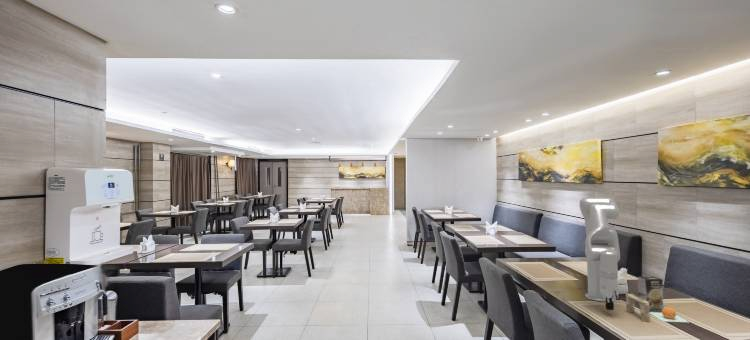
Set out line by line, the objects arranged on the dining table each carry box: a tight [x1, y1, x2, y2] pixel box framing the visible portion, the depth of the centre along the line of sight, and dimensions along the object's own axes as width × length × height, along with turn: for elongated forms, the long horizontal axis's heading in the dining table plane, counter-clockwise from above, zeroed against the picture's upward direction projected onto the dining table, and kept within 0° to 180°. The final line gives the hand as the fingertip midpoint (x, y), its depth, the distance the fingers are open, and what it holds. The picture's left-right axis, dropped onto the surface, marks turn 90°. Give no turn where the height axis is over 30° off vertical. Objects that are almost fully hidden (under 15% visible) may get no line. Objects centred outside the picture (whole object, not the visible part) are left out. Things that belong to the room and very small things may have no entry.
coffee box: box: [637, 276, 664, 310], centre depth 193 cm, size 9×6×16 cm
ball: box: [661, 306, 677, 319], centre depth 177 cm, size 6×6×6 cm
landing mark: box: [649, 311, 690, 323], centre depth 178 cm, size 12×12×1 cm
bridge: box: [625, 293, 651, 323], centre depth 180 cm, size 3×14×9 cm, turn 172°
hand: (609, 309), depth 183 cm, fingers closed
